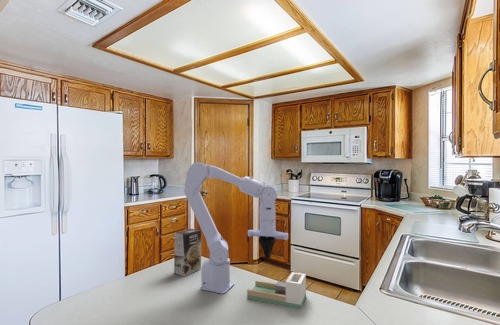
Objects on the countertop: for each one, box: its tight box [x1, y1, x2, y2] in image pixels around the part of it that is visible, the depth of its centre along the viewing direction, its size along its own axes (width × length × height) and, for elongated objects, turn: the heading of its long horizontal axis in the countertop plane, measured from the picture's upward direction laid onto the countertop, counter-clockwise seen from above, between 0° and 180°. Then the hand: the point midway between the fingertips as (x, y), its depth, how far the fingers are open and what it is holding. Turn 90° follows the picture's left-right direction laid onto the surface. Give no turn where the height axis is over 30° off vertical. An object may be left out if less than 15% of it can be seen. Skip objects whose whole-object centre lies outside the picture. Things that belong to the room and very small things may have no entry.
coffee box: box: [173, 228, 202, 277], centre depth 106 cm, size 9×6×16 cm
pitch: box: [246, 271, 307, 310], centre depth 83 cm, size 17×8×7 cm, turn 67°
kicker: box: [275, 281, 286, 295], centre depth 82 cm, size 4×3×3 cm
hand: (267, 258), depth 92 cm, fingers closed
